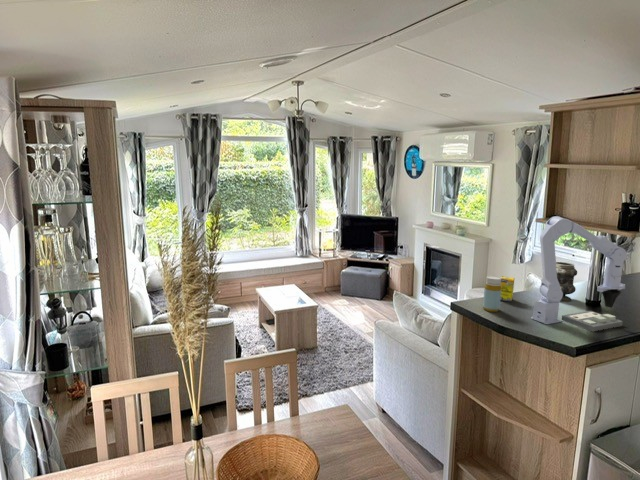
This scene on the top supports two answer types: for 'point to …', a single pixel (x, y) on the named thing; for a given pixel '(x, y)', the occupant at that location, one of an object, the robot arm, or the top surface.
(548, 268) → the robot arm
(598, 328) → the button board
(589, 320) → the left button
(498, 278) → the bottle
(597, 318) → the middle button
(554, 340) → the top surface
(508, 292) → the supplement box
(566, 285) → the apothecary jar
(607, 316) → the right button
